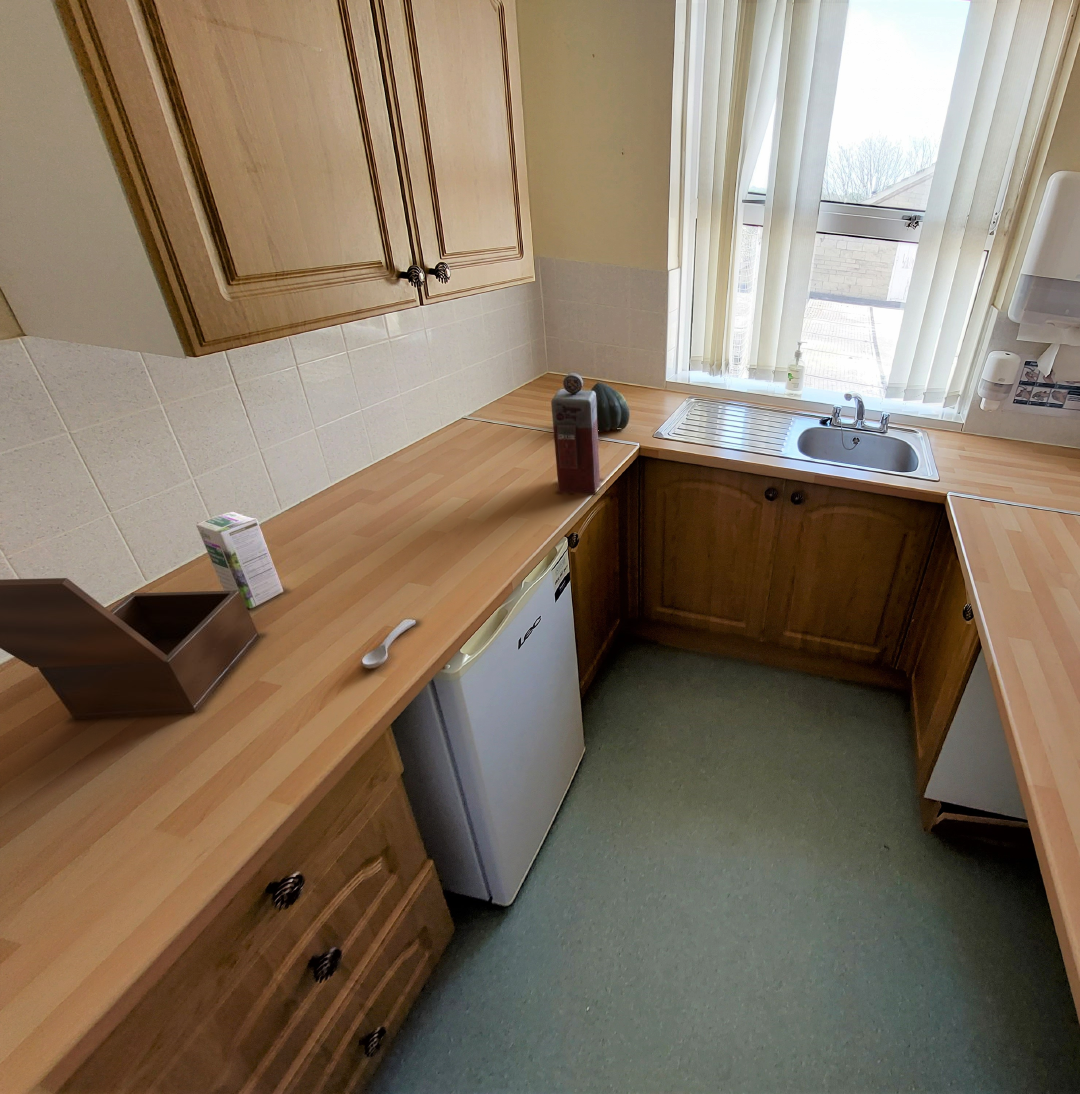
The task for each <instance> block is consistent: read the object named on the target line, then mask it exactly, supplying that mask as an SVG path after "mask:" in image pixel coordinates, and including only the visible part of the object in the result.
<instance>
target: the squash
mask: <svg viewBox="0 0 1080 1094" xmlns="http://www.w3.org/2000/svg"><path fill="white" fill-rule="evenodd" d="M589 390H590V391H594V392H595V393H596V407H597V430H599V431H598V433H599V432H600V433H602V432H604V431H610V430H611V429H612V430H614V431H622V430H624V429H625V428H626V427H627V426H628V424H629V422H630V417H631V416H630V407H629V404H628V401H627V400H626V398H625V397H624V395H623V393H621V392H619V391H618V390H616V389H615V388H614V387H612V386H610V385H608V384H606V383H604V382H600V381H598V382H596V383H595V384H594V385H593V386H592V387H591V388H590V389H589ZM617 428H622V429H617Z"/></svg>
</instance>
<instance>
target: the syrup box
mask: <svg viewBox="0 0 1080 1094" xmlns="http://www.w3.org/2000/svg"><path fill="white" fill-rule="evenodd" d="M259 524H260V523H259V521H258V519H257V518H255V517H250V516H248V515H245V514H241V513H238V512H235V511H230V512H225V513H222V514H219V515H216V516H212V517H210V518H208V519H205V520H203V521H201V522H199V523H197V524H196V525H195V526H196V528H197V531H198V533H199V535H200V538H201V540H202V542H203V545H204V548H205V549H206V552H207V554H208V557H209V560H210V561H211V564H212V566H213V569H214V571H215V574H216V577H217V578H218V580H219V582H220V585H221V587H222V591H233V590H239V591H240V593H241V595H242V598H243V600H244V602H245V604H246V607H247V609H253V608H255V607H257V606H259V605H262V604H263V603H265V602H267V601H269V600H271V599H272V598H275V597H276V596H278V595H280V594H282V593H284V588H283V585H282V584H281V581H280V578H279V575H278V572H277V570H276V567H275V565H274V562H273V559H272V557H271V554H270V551H269V548H268V546H267V543H266V540H265V537H264V535H263V532H262V529H261V527H260V525H259Z"/></svg>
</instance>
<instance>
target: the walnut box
mask: <svg viewBox="0 0 1080 1094" xmlns="http://www.w3.org/2000/svg"><path fill="white" fill-rule="evenodd" d="M109 611H110V612H111V613H113V614H114V615H115V616H117V617H118V618H119V619H120V620H122V621H123V622H124V623H126V624H127V625H128V626H129V627H131V628H132V629H133V630H135V631H136V632H137V633H138V634H140V635H141V636H142V637H144V638H145V639H146V640H147V641H149V642H150V643H151V644H153V645H154V646H155V647H156V648H158V649H159V650H160V651H162V652H163V653H164V654H165V655H167V658H166V660H165V661H164V662H142V663H120V664H98V665H76V666H54V667H37V669H38V671H39V672H40V673H41V675H42V676H43V678H44V679H45V680H46V682H47V683H48V685H49V686H50V687H51V689H52V690H53V691H54V693H55V694H56V696H57V698H58V699H59V700H60V702H61V704H62V705H63V706H64V707H65V709H66V710H67V711H68V713H69V714H70V715H71V717H72V718H73V720H85V719H86V720H87V719H98V718H99V719H102V718H119V717H135V716H136V717H137V716H151V715H153V716H155V715H168V714H169V715H170V714H171V715H172V714H188V713H196V712H197V711H198V710H199V709H200V708H201V707H202V705H203V704H204V703H205V702H206V701H207V699H208V698H210V696H211V695H212V693H213V692H214V691H215V690H216V689H217V687H218V686H219V685H220V684H221V683H222V682H223V681H224V679H225V678H226V677H227V676H228V675H229V674H230V672H231V671H232V670H233V669H234V668H235V666H236V665H237V664H238V663H239V662H240V660H241V659H242V658H243V657H244V656H245V654H247V653H248V651H249V650H250V648H252V646H253V645H254V644H255V643H256V641H257V640H258V639H259V638H260V635H259V631H258V630H257V628H256V624H255V623H254V621H253V618H252V616H251V614H250V612H249V608H248V607H246V604H245V602H244V600H243V598H242V595H241V593H240V591H239V590H233V591H224V590H203V591H201V590H200V591H196V590H195V591H166V592H165V591H164V592H163V591H162V592H132V593H130V594H129V595H128V596H126V597H125V598H124V599H123V600H121V601H120V602H119V603H118V604H116V605H115V606H114V607H112V608H111V609H110V610H109Z"/></svg>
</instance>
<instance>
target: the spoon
mask: <svg viewBox="0 0 1080 1094" xmlns="http://www.w3.org/2000/svg"><path fill="white" fill-rule="evenodd" d="M415 625H416V620H415V619H411V618H410V619H409V618H408V619H403V620H402V621H401V622H400V623H399V624H398V625H397V626H396V627H395V628H393V630H392V631H391V632H390V633H389V634H388V635H387V636H386V637H385V638H384V640H383V641H382V643H380V645H379V646H378V647H376V648H375V649H374V650H372V651H369V652H368V653H366V654H365V656H364V657H362V660H361V665H362V667H364V668H365V669H376V668H377V667H380V666H381V665H383V664H384V663H385V662H386V660H387V659H388V648H389V647H390V646H391V644H392V643H393V642H394V641H395V640H396V639H397V638H398V637H399V636H400V635H401V634H402V633H404V632H406V631H407V630H408V629H410V628H412V627H413V626H415Z"/></svg>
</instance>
